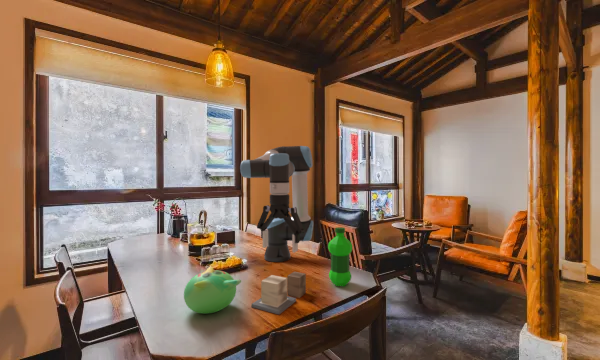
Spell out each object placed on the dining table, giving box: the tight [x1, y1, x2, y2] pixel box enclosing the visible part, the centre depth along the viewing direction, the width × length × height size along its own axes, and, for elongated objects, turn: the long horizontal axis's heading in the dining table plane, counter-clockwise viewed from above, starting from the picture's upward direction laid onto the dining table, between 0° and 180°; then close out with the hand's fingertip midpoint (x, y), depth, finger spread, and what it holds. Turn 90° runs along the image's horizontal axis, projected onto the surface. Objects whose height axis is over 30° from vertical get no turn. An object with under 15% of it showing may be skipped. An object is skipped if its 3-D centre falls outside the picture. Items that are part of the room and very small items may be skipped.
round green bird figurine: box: [183, 266, 242, 315], centre depth 103 cm, size 18×17×15 cm
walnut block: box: [286, 271, 307, 299], centre depth 117 cm, size 6×6×8 cm
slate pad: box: [251, 295, 297, 315], centre depth 108 cm, size 12×12×1 cm
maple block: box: [260, 274, 288, 306], centre depth 108 cm, size 7×7×8 cm
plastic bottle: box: [327, 226, 353, 287], centre depth 127 cm, size 10×10×25 cm
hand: (279, 249), depth 110 cm, fingers open, 13 cm apart
